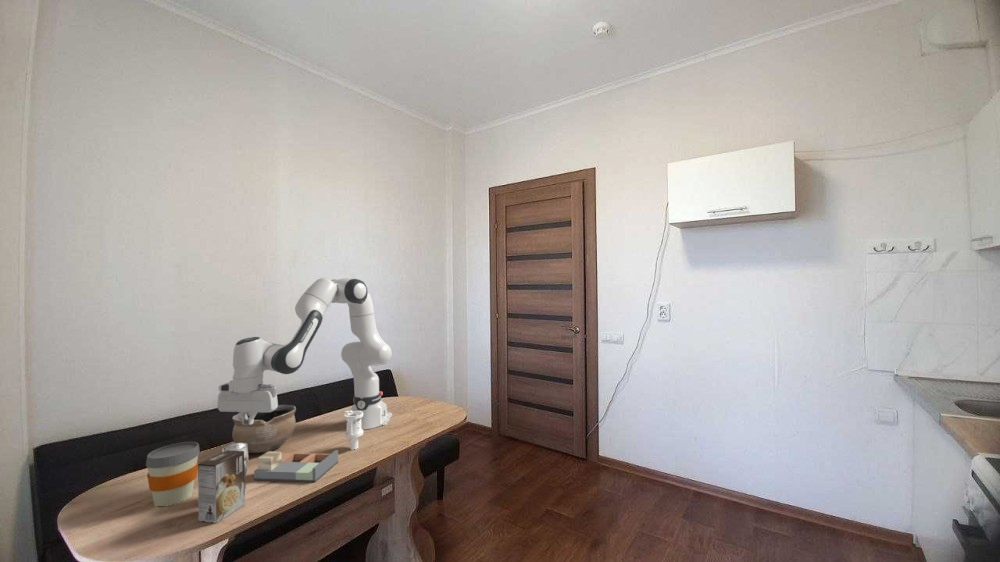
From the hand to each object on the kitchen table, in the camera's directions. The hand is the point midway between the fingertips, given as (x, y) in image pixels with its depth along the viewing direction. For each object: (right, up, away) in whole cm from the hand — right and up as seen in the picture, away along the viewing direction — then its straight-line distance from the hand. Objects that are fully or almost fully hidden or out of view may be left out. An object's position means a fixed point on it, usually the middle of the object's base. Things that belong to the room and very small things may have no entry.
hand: (248, 424), depth 128 cm
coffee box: (+8, -17, -23) cm, 29 cm away
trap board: (+17, -17, +2) cm, 24 cm away
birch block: (+8, -14, -1) cm, 17 cm away
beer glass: (+5, -17, -13) cm, 22 cm away
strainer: (+29, -18, +19) cm, 39 cm away
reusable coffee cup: (-13, -18, -14) cm, 26 cm away
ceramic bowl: (-8, -18, +21) cm, 29 cm away
